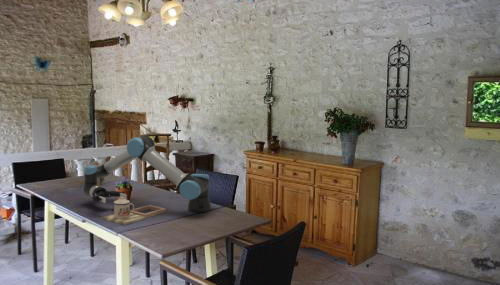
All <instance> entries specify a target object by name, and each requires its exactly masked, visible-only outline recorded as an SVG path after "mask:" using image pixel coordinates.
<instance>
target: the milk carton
mask: <svg viewBox="0 0 500 285" xmlns="http://www.w3.org/2000/svg"><path fill="white" fill-rule="evenodd" d="M90 165H95V166H97V167H99V166H101V165H103V164H102V163H100V161H99V160H98V159H96V160H94V161H92V163H91V164H90ZM104 184H105V177H101V178H98V179H97V186H100V187H102V186H103V185H104Z"/></svg>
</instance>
